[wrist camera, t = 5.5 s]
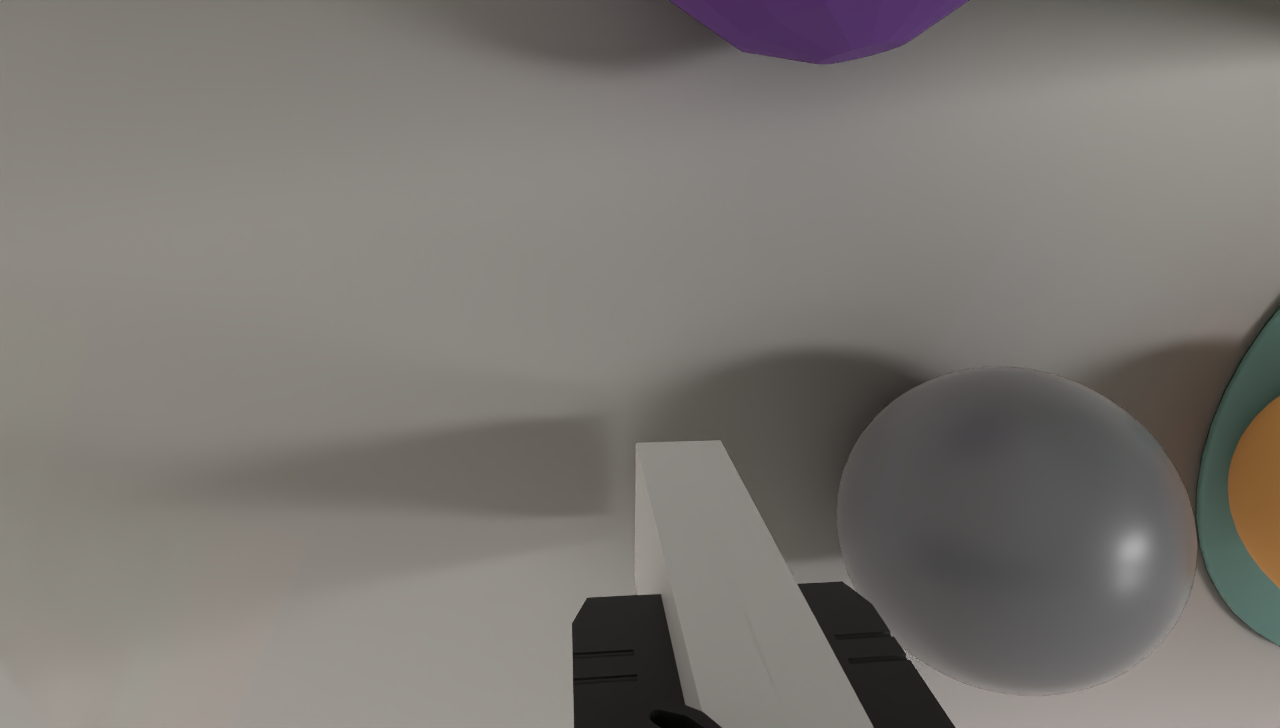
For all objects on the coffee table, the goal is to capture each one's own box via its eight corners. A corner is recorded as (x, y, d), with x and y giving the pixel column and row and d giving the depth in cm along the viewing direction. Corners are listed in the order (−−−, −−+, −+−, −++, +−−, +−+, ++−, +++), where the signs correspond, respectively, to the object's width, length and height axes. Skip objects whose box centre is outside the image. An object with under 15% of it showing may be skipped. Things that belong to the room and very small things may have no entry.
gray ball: (761, 450, 11) (843, 361, 16) (846, 755, 12) (901, 586, 17) (1190, 398, 8) (1139, 308, 13) (1269, 804, 9) (1193, 583, 14)
